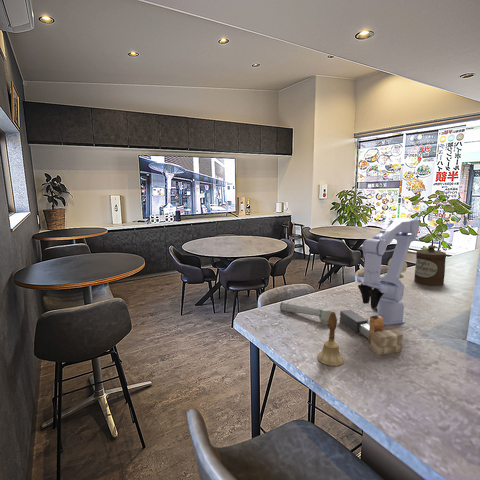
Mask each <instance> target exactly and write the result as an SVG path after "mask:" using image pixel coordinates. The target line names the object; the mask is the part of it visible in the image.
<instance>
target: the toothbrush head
mask: <svg viewBox="0 0 480 480" xmlns="http://www.w3.org/2000/svg"><path fill="white" fill-rule="evenodd" d="M279 307H280V310H281V311H282V312H287V313H294V314H303V315H309V316H316V317H318V318H319V320H320V324H323V325H324V326H328V321H329V317H330V315H331V312H333V311H332V310H331V308H327V307H326V308H319V307H313V306H309V305H303V304H297V303H292V302H290V301H289V302H284V301H283V302H281V303H280V305H279ZM323 325H322V326H323Z"/></svg>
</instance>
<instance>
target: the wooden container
mask: <svg viewBox="0 0 480 480" xmlns="http://www.w3.org/2000/svg"><path fill="white" fill-rule="evenodd" d="M435 249H436V247H435V246H434V245H432V244H430V245H428V246H427V249H419V250H416V252H415V253H416V254H415V255H416V256H415V257H416V258H415V266H414V282H415V283H418V284H421V285H426V286H435V287H436V286H443V285H444V284H445V283H444V282H445V273H446V259H447V258H446V257H447V254H446V252H444V251H441V250H435Z"/></svg>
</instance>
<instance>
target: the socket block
mask: <svg viewBox="0 0 480 480" xmlns="http://www.w3.org/2000/svg"><path fill="white" fill-rule="evenodd" d="M403 335H404V334H402V333H401V332H399V331H398V330H396V329H394V328H393V329H387V330H386V329H385V330H383V331H379V332H372V333H371V341H370V350H371V351H372V352H374V353H375V354H377V355H378V356H379V355H388V354H391V353H392V354H393V353H399V352H402V350H403V347H402V346H403Z"/></svg>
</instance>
